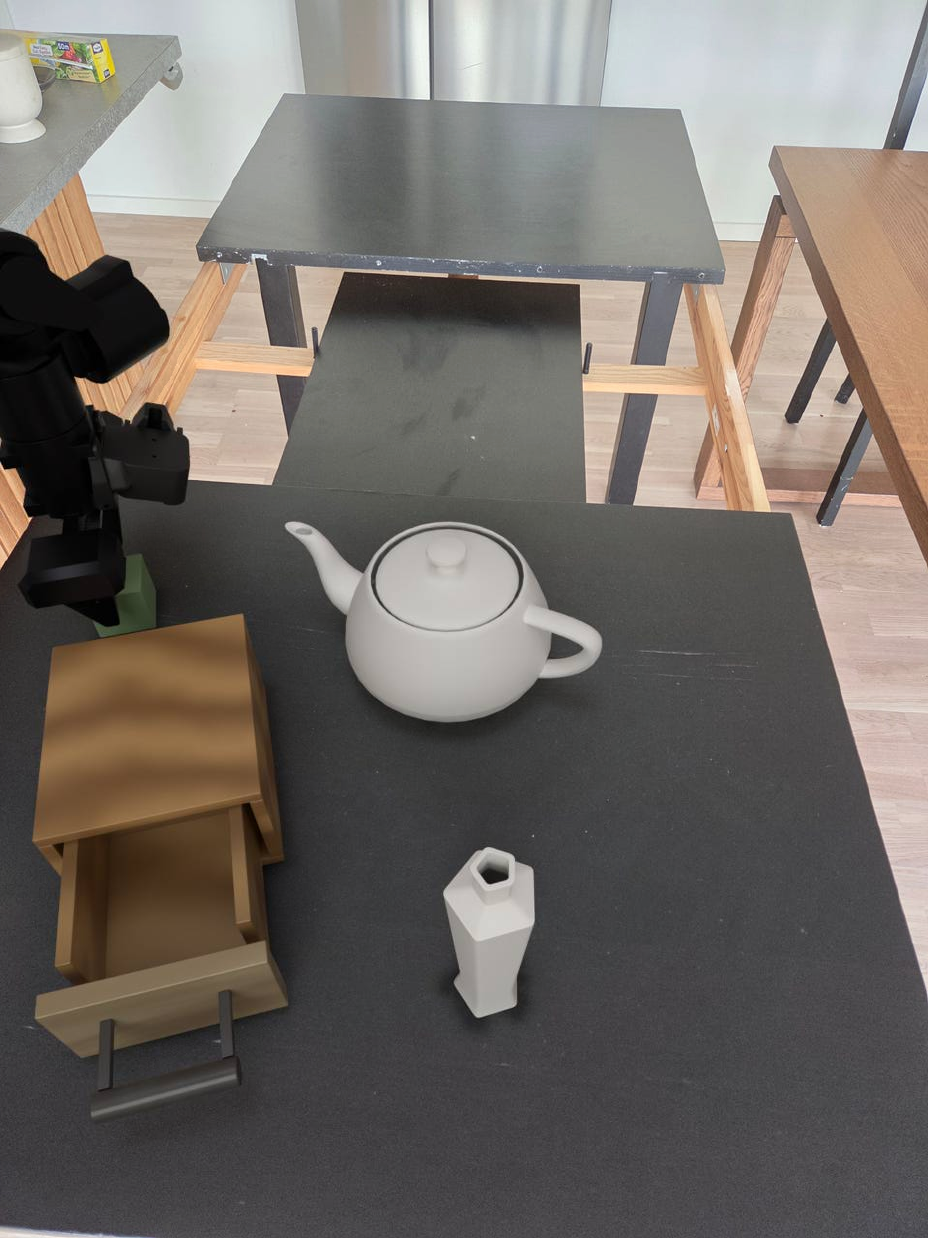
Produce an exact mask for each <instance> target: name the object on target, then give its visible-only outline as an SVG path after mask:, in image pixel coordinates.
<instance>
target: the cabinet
mask: <svg viewBox="0 0 928 1238" xmlns="http://www.w3.org/2000/svg"><path fill="white" fill-rule="evenodd" d="M46 696H47V697H46V706H45V718H44V725H43V734H42V735H43V736H42V745H41V754H40V762H39V763H40V765H39V774H38V783H37V790H36V791H37V793H36V803H35V811H34V812H35V813H34V821H33V823H34V824H33V829H32V841H31V842H32V843H33V844H34V845H35V846H36V848H37V849H38V850H39V852H40V853H41V854H42V856H43V857H44V858H45V859H46V861H48V863H49V864H50V865H51V867H52V868H53V869H54V870H55V871H56V873H57V874H58V875H59V877H61V876H62V863H63V850H64V842H67V841H72V840H76V839H81V838H86V837H90V836H95V835H100V834H104V833H109V832H114V831H118V830H123V829H128V828H132V827H137V826H142V825H146V824H151V823H156V822H160V821H165V820H170V819H174V818H179V817H184V816H188V815H193V814H198V813H202V812H207V811H212V810H216V809H221V808H226V807H230V806H235V805H240V804H244V803H249V802H250V805H251V808H252V810H253V813H254V815H255V818H256V821H257V823H258V828H259V838H260V849H261V860H262V867H263V866H268V865H272V864H275V863H281V862H284V861H285V852H284V843H283V834H282V826H281V817H280V816H281V815H280V808H279V799H278V790H277V781H276V773H275V764H274V763H275V762H274V755H273V746H272V737H271V729H270V722H269V721H270V720H269V713H268V711H269V709H268V703H267V694H266V688H265V684H264V681H263V676H262V673H261V670H260V667H259V663H258V660H257V657H256V654H255V650H254V646H253V644H252V639H251V636H250V633H249V629H248V625H247V623H246V619H245V615H244V614H243V613H238V614H233V615H232V614H231V615H227V616H221V617H215V618H210V619H204V620H198V621H193V622H188V623H181V624H177V625H171V626H165V627H160V628H152V629H147V630H141V631H136V632H130V633H124V634H119V635H113V636H108V637H102V638H98V639H92V640H86V641H81V642H76V643H75V642H74V643H70V644H65V645H59V646H53V647H52V649H51V659H50V667H49V677H48V687H47V695H46Z"/></svg>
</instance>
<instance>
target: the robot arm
mask: <svg viewBox="0 0 928 1238" xmlns="http://www.w3.org/2000/svg"><path fill="white" fill-rule="evenodd" d="M39 245H40V244H39V243H38V242H37V241H35V240H34V239H32V237H30V236H28V235H25V234H22V233H19V232H17V231H13V230H10V229H6V228H3V227H0V440H1V441H0V464H1V466H2V469H3V470H4V471H7V470H8V471H9V470H14V469H15V471H16V473H17V475H18V477H19V479H20V481H21V483H22V485H23V487H24V489H25V490H24V497H23V502H22V508H23V510H24V512H25V514H26V516H27V518H28V519H29V518H36V517H40V516H48V517H49V518H50V519H53V520H62V528H61V533H57V534H52V535H46V536H39V537H33V538H30V540H29V541H28V543H27V544H26V545H25V546H24V548H23V550H22V551H21V556H20V564H19V570H18V577H17V584H16V586H17V588H18V590H19V591H20V593H21V595H22V597H23V599H24V600H25V602H26V603H27V605H28V606H29V607H31V608H34V609H35V610H39V609H45V608H50V607H51V608H52V607H56V606H62V605H63V606H65V607H67V608H69V609H71V610H73V611H75V612H77V613H79V614H81V615H82V616H84V617H86V618H88V619H89V620H91V621H92V620H93V621H95V622H97V623H99V624H101V625H103V626H104V627H112V626H118V625H119V624H120V617H119V611H118V605H117V600H116V595H117V594H118V593H119V592H121V591H122V590H123V589H124V588H125V581H126V557H124V556H125V552H124V549H123V544H124V543H123V542H124V540H123V531H122V529H123V528H122V521H121V513H120V505H119V504H120V502H119V496H120V497H122V498H125V499H130V500H139V501H146V502H147V501H148V502H156V503H163V504H164V505H165V506H179V505H182V504H183V503H185V502H186V497H187V492H188V491H187V489H188V483H189V477H190V469H191V454H190V453H191V452H190V439H189V438H188V437H187V436H186V435H185V434H184V428H183V427H181V426H177V427H176V429H175V424H174V421H173V418H171V415H170V412H169V410H168V408H167V406H166V405H165V404H162V403H155V402H150V401H146V402H144V403H143V404H142V405H141V406H140V408H139V409H138V411H136V413H135V414H134V415H133V417H132V419H131V420H130V419H123V418H122V417H120V416H118V415H116V414H114V413H113V412H110V411H109V410H100V409H95V408H96V407H95V406H94V405H95V404H93V403H92V404H86V403H85V401H84V398H83V396H82V393H81V391H80V387H79V385H78V383H77V380H76V378H77V379H85V380H87V381H89V382H90V383H93V384H97V385H105V384H108V383H109V382H111V381H113V380H114V379H115V378H117V377H119V376H120V375H122V374H123V373H125V372H126V371H127V370H129V369H131V368H132V367H134V366H135V365H137V364H138V363H140V362H142V361H143V360H145V359H146V358H147V357H149V356H151V354H153V353H154V352H155V353H156V352H157V350H159V349H161V348H162V347H164V346H165V345H166V344H167V343H168V341H169V338H170V336H171V334H170V333H171V326H170V322H169V317H168V314H167V311H166V310H165V309H163V308H162V306H161V304H160V303H159V302H158V299H157V298H156V297H155V295H154V294H153V293H152V291H151V290H150V289H149V288H148V287H147V286H146V285H145V283H143V282H142V281H141V280H140V279H139V278H137V277H136V276H135V274H134V272H133V269H132V266H131V262H130V261H129V260H127V259H123V258H120V257H116V256H113V255H109V254H104V255H103V256H101V257H99V258H97V259H96V260H94V261H93V262H92V263H90V265H88V266H87V267H86V268H85V269H83V270H82V271H80V272H78V273H76V274H74V275H72V276H70V277H69V278H66V279H65V280H64V279H63V278H62V277H61V276H59V275H57V274H56V273H55V272H53V271H52V270H51V268H50V266H49V263H48V260H47V258H46V256H45V255H44V253H43V252H42V250H41V249H40V246H39ZM93 621H92V622H93Z"/></svg>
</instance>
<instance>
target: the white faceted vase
mask: <svg viewBox="0 0 928 1238" xmlns="http://www.w3.org/2000/svg"><path fill="white" fill-rule="evenodd" d="M534 881H535V875H534V869H533V868H532V867H531V865H527V864H524V863H521V862H519V861H516V858H515V856H514V855H513V854H512V853H509V852H506V851H503V850H500V849H497V848H494V847H491V846H487V847H484V849H482V850H481V849H479V850H476V851H475V852H474V853H473V854H472V856H470V858H469V859H468V860H467V862H466V863H464V865H463V866H462V868H460V870H459V871H458V872H457V874H456V875H455V876H454V877H453V878H452V880H451V881H450V882H449V884H448V885H447V886H446V887H445V888H444V890H443V891H442V893H443V895H442V896H443V900H444V905H445V909H446V914H447V918H448V923H449V928H450V932H451V936H452V942H453V946H454V951H455V956H456V959H457V965H458V969H459V973H458V974H457V975H456V977H455V978H454V980H453V985H454V986H455V988H456V990H457V992H458V993H459V994H460V996H461V998H462V999H463V1001H464V1003H466V1005H467V1007H468V1009H469V1010H470V1011H471V1013H472V1014H473V1016H474V1017H475V1018H477V1019H480V1018H483V1017H486V1016H489V1015H493V1014H497V1013H500V1012H502V1011H506V1010H509V1009H512V1008H513V1009H514V1007H516V1006H517V1004H518V974H519V971H520V967H521V965H522V962H523V959H524V956H525V952H526V949H527V946H528V943H529V940H530V937H531V933H532V931H533V929H534V925H535V921H536V920H535V919H536V917H535V916H536V915H535V914H536V913H535V882H534Z"/></svg>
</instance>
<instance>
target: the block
mask: <svg viewBox="0 0 928 1238" xmlns="http://www.w3.org/2000/svg"><path fill="white" fill-rule="evenodd" d="M124 557H126V581H125V588H124V589H123V590H122V591H121V592H119V593H118V594H117V595H116V600H117V605H118V611H119V617H120V624H119V625H118V626H112V627H104V626H103V625H101V624H99V623H97V622H95V621H93V620H92V619H91V621H92V623H93V626H94V628H95V630H96V631H97V633H98V635H99V637H100V639H103V638H108V637H114V636H120V635H125V634H131V633H136V632H142V631H148V630H153V629H157V590H156V588H155V584H154V582H153V580H152V577H151V574H150V572H149V570H148V568H147V565H146V563H145V559H144V556H143V555H142V553H136V554H130V555H124Z"/></svg>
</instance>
